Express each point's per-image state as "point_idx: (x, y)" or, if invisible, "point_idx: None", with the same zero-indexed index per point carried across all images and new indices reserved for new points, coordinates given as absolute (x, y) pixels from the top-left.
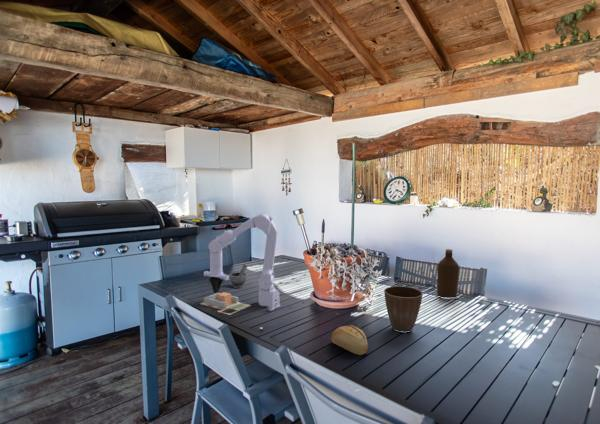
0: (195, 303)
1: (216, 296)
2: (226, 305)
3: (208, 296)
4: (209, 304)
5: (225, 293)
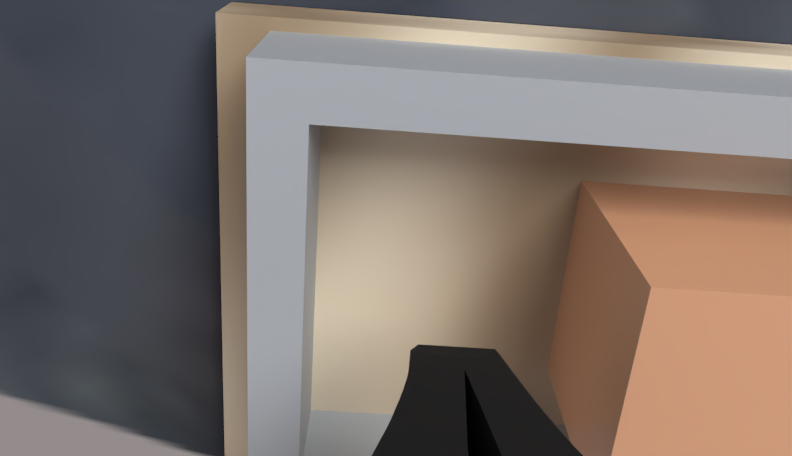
0: (32, 370)
1: (312, 162)
2: None
3: (269, 418)
4: None
5: (766, 361)
